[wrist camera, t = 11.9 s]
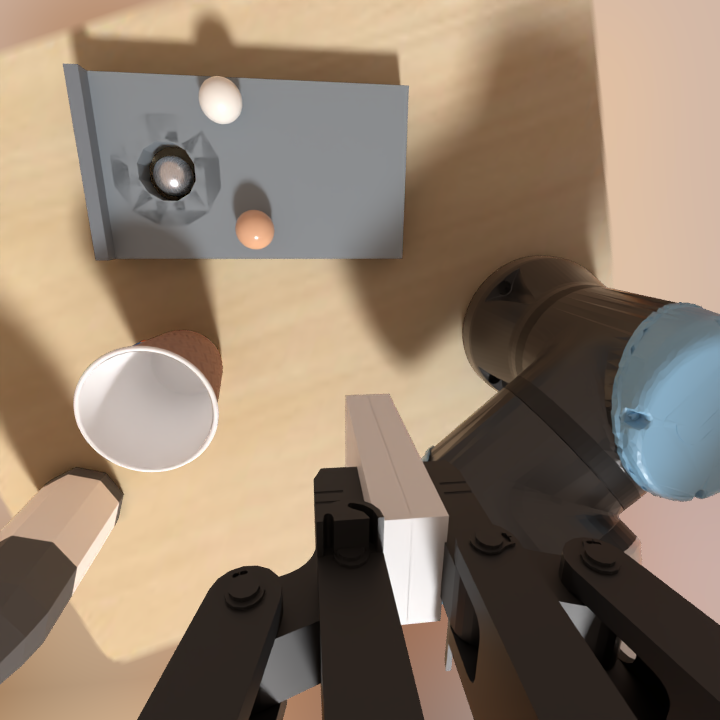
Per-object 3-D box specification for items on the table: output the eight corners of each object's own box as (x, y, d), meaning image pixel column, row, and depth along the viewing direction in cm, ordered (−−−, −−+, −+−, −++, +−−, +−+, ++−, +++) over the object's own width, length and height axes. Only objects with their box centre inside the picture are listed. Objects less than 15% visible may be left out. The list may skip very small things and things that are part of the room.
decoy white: (243, 83, 35) (237, 71, 32) (246, 128, 36) (240, 120, 33) (201, 81, 35) (192, 69, 32) (205, 127, 36) (196, 118, 33)
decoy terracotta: (274, 210, 38) (272, 209, 35) (276, 248, 39) (274, 250, 36) (236, 209, 38) (231, 209, 35) (239, 248, 39) (234, 250, 36)
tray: (401, 95, 40) (413, 80, 35) (395, 255, 44) (405, 260, 40) (90, 81, 36) (62, 63, 32) (117, 255, 41) (95, 260, 36)
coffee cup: (138, 301, 42) (78, 332, 31) (248, 325, 44) (229, 363, 33) (126, 399, 45) (67, 461, 34) (229, 418, 47) (206, 482, 36)
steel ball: (177, 155, 36) (142, 153, 36) (181, 197, 37) (147, 195, 37) (199, 157, 38) (166, 156, 39) (202, 196, 40) (170, 194, 40)
